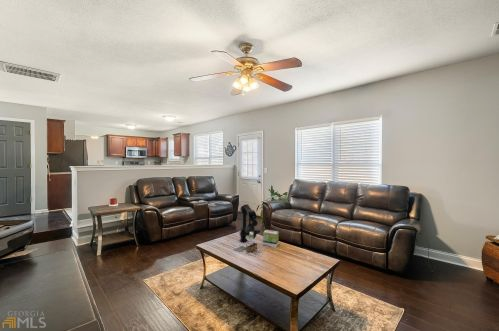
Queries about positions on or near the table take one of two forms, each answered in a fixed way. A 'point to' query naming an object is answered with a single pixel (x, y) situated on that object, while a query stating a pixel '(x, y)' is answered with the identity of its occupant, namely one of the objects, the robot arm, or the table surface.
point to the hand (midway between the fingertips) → (251, 238)
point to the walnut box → (251, 248)
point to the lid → (250, 237)
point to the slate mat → (240, 249)
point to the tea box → (270, 238)
